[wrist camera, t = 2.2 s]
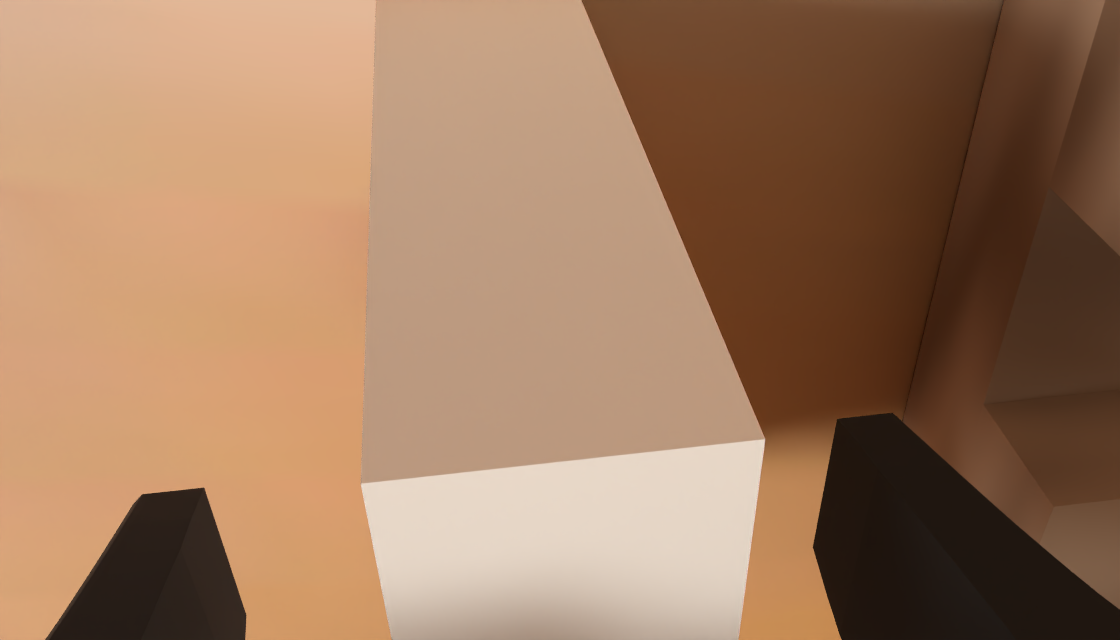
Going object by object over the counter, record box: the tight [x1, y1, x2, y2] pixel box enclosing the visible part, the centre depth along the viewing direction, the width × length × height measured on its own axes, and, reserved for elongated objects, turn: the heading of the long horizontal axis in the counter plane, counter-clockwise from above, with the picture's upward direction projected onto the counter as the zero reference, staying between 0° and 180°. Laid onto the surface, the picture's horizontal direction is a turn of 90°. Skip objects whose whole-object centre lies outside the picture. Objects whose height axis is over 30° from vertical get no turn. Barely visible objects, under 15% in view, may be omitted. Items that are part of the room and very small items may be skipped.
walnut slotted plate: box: [902, 0, 1120, 609], centre depth 14 cm, size 18×2×4 cm, turn 1°
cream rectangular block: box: [361, 0, 765, 640], centre depth 12 cm, size 8×2×8 cm, turn 1°
